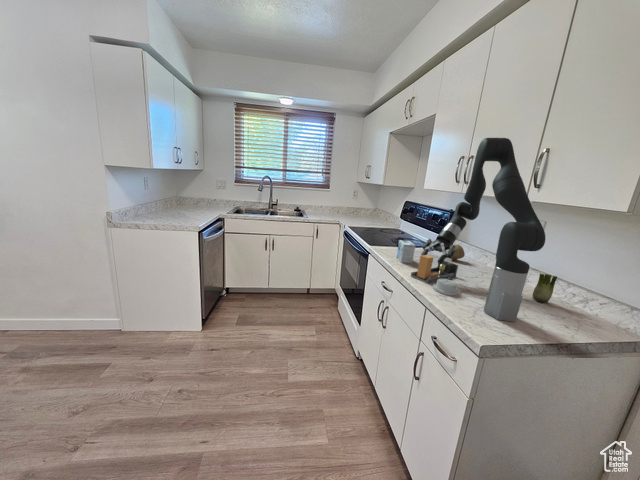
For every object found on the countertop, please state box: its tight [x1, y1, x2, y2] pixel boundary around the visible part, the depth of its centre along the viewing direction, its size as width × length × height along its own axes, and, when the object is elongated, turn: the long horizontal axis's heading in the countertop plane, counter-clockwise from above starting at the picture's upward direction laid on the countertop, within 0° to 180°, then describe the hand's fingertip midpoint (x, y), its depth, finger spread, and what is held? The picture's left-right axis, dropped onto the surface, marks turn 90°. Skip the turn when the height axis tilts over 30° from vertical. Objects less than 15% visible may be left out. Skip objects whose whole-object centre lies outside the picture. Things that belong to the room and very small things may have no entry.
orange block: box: [417, 254, 439, 279], centre depth 121 cm, size 9×6×10 cm
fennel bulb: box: [532, 273, 558, 304], centre depth 105 cm, size 6×5×12 cm
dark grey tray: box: [410, 266, 455, 284], centre depth 125 cm, size 23×9×2 cm, turn 124°
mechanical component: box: [432, 278, 460, 297], centre depth 109 cm, size 10×4×10 cm
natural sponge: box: [447, 244, 465, 261], centre depth 156 cm, size 9×9×10 cm
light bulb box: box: [395, 239, 416, 265], centre depth 147 cm, size 11×7×11 cm, turn 178°
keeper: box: [437, 260, 459, 278], centre depth 129 cm, size 6×10×6 cm
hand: (430, 259), depth 120 cm, fingers open, 8 cm apart
